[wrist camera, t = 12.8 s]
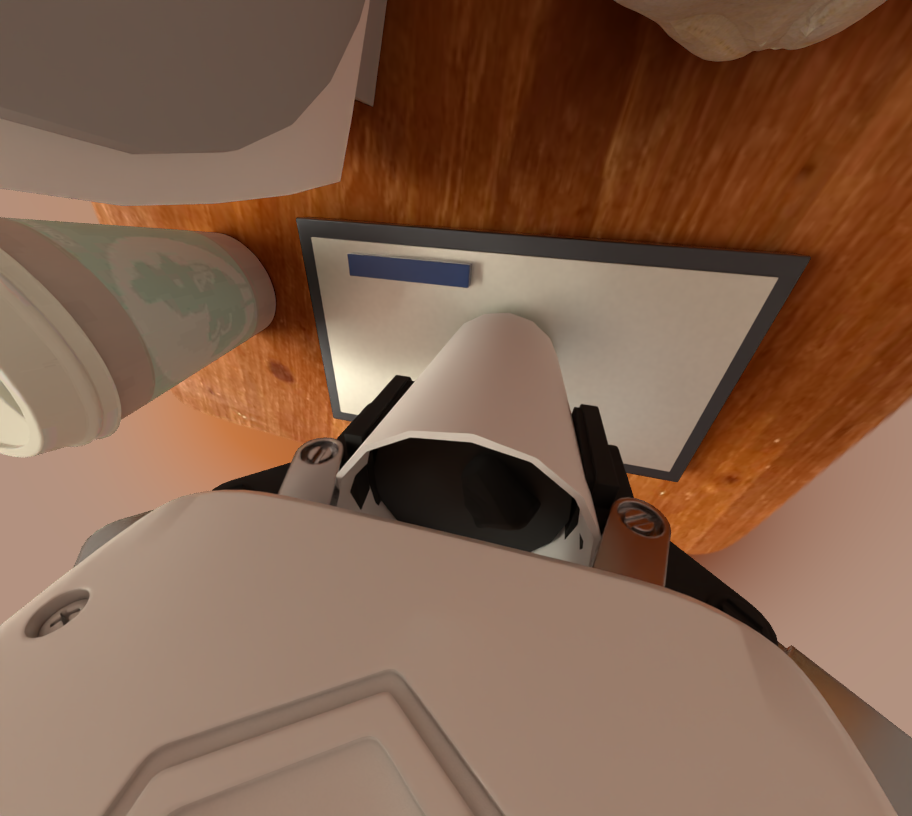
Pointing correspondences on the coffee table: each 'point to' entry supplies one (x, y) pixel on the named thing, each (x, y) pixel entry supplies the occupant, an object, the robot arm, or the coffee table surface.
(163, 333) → the coffee cup
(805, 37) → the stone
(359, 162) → the coffee table surface
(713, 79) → the coffee table surface
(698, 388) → the whiteboard
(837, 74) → the coffee table surface
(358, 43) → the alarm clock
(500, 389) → the white cup
